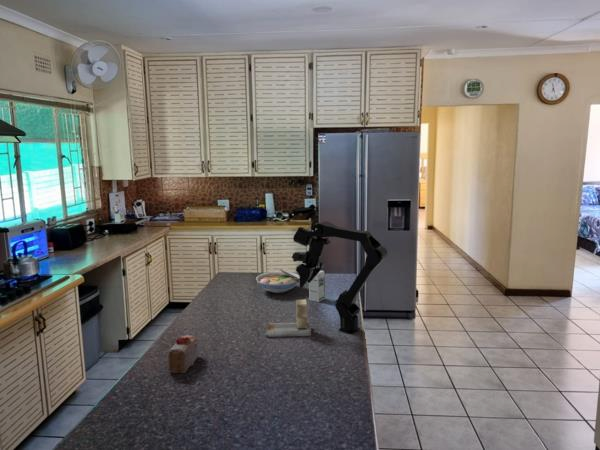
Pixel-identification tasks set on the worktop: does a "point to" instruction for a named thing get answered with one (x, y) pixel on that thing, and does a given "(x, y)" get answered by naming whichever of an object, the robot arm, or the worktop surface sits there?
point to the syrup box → (317, 287)
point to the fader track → (286, 330)
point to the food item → (183, 354)
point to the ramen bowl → (278, 281)
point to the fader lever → (301, 314)
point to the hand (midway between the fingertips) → (304, 284)
